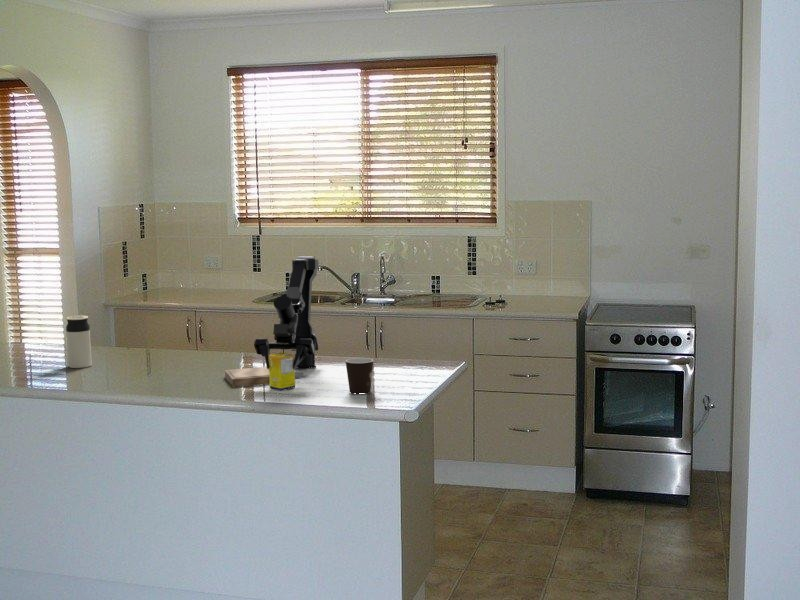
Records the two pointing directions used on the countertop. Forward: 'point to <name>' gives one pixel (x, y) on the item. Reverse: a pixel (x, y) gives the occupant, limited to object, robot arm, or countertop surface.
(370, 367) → the coffee mug
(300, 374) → the grey coaster
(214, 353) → the countertop surface
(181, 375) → the countertop surface
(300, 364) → the robot arm
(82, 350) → the travel mug
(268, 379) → the walnut stand
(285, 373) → the supplement box
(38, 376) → the countertop surface
